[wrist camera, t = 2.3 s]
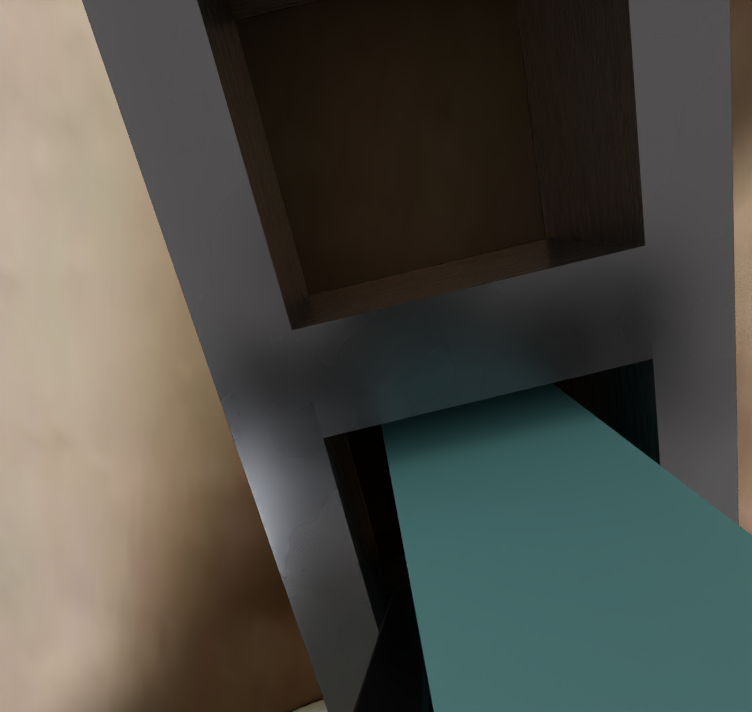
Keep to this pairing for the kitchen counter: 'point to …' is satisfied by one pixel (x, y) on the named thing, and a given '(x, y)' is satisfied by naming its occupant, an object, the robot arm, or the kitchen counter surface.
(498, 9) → the kitchen counter surface
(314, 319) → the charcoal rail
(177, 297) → the kitchen counter surface
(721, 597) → the teal peg
